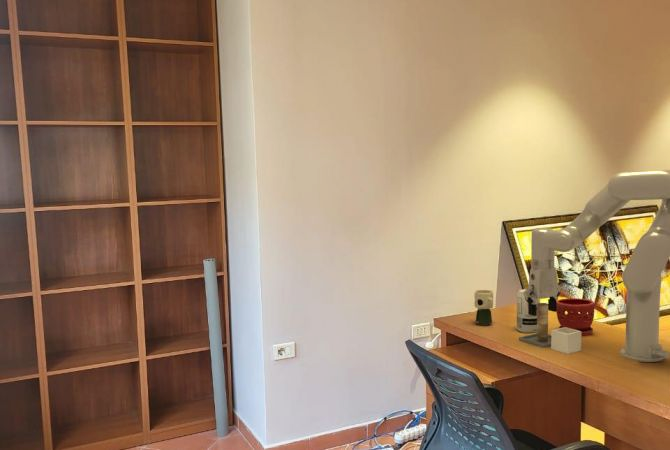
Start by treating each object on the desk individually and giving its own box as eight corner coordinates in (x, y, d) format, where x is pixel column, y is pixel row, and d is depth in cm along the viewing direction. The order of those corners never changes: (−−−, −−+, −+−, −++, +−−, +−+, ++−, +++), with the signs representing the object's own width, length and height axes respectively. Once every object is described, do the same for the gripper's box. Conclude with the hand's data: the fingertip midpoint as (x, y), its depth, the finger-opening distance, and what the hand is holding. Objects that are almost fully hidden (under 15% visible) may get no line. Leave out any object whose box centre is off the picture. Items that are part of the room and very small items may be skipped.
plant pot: (596, 330, 232) (597, 298, 231) (590, 339, 221) (591, 306, 220) (559, 326, 239) (559, 295, 238) (552, 335, 228) (552, 302, 226)
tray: (566, 344, 217) (566, 339, 217) (543, 349, 211) (543, 344, 211) (541, 336, 226) (541, 332, 226) (518, 341, 221) (518, 337, 221)
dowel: (550, 341, 218) (550, 304, 217) (542, 342, 216) (543, 305, 215) (542, 338, 221) (542, 302, 220) (534, 340, 219) (535, 303, 218)
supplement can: (523, 326, 241) (523, 287, 239) (543, 330, 235) (543, 290, 233) (512, 330, 235) (512, 291, 233) (532, 334, 229) (533, 294, 228)
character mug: (468, 322, 249) (468, 289, 248) (483, 319, 252) (483, 287, 250) (484, 328, 239) (484, 295, 238) (500, 326, 241) (500, 293, 240)
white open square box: (581, 352, 208) (581, 331, 207) (567, 355, 204) (567, 334, 204) (564, 347, 213) (565, 327, 213) (551, 350, 210) (551, 330, 209)
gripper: (533, 268, 208) (533, 319, 210) (569, 262, 217) (568, 311, 219) (516, 265, 215) (516, 314, 217) (551, 260, 223) (551, 307, 225)
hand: (542, 313), depth 218 cm, fingers open, 9 cm apart
